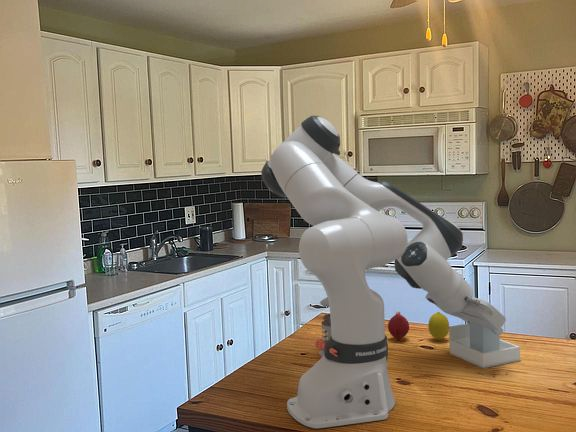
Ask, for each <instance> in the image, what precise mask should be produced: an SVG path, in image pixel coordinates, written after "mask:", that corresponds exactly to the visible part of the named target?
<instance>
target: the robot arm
mask: <svg viewBox="0 0 576 432" xmlns="http://www.w3.org/2000/svg"><path fill="white" fill-rule="evenodd" d="M340 146H341V137H340V134H339V133H338V131H337V128H336V127H335V126H334V125H333V124H332V122H331V121H329V120H327V119H326V118H324V117H321V116H320V115H319V116H318V115H310V116H308V117H307V118H305V120H303V121H302V122H301V123H300V125H299V126H298V127H297V128H296V129H294V131H293V132H292V133H291V134H289V136H287V137H286V139H284V141H282V142H281V143H280V145H278V146H277V148H275V150H274V151H273V152H272V154H271V156H270V158H269V160H267V161H266V162H265V163H264V164H263V167H262V169H261V171H260V172H261V173H260V174H261V180H262V182H263V183H264V185H265V187H267V188H268V190H269V191H270V192H272V193H274V194H275V195H277V196H279V197H281V198H287V199H288V201H289V202H290V203H291V204H292V206H293V207H294V208H295V210H296V212H297V213H298V214H299V215H300V217H301V219H303V221H305V222H306V223H308V224H309V225H311V227H308V228H307V229H306V230H304V232H303V233H302V234H301V237H300V240H299V244H298V254H299V258H300V261H301V262H302V264H303V266H304V268H305V269H306V270H307V271H308V272H309V273H310V274H312V275H314V277H315V278H317V280H318V281H319V282H320V284H321V285H322V287H323V289H324V291H325V293H326V296H327V297H328V301H329V306H330V307H329V314H330V318H331V336H330V338H329V340H328V342H325V341H323V340H324V339H323V338H317V339H315V341H314V346H315V348H316V349H318V350H319V351H321V350H324V356H323V357H322V356H321V358H320V359H319V360H318V361H317V362H316V363H314V365H312V366H311V367H310V368H309V369H308V370H307V371H306V372H305V373H304V374H302V375H301V376H300V379H299V382H298V386H297V394H296V396H295V397H291V398H289V399H288V400H287V402H286V409H287V412H288V413H289V415H290V416H291V417H292V418H293V419H295V421H296V422H298V423H300V424H301V425H303V426H305V427H308V428H311V429H324V428H325V429H326V428H333V427H339V426H346V425H354V424H355V425H356V424H363V423H368V422H376V421H383V420H387V419H388V418H389V412H390V411H391V410H392V409H393V408H394V406H395V405H396V400H395V397H394V393H393V390H392V387H391V382H390V377H389V372H388V371H389V370H388V363H387V361H388V356H389V348H388V346H389V344H388V335H386V327H385V325H386V324H385V323H386V322H385V321H386V320H385V317H386V316H385V302H384V298H382V296H381V295H380V294H379V293H378V292H377V291H376V290H373V289H372V288H370V286H369V285H368V282H367V278H366V274H365V272H366V270H369V269H374V268H375V269H376V268H380V267H383V266H386V265H388V264H390V263H393V262H394V271H395V273H397V274H398V275H399V276H400V277H402V278H403V279H404V280H405V281H406V282H407V285H409V286H410V287H411V288H413V289H422V290H423V291H425V292H427V293H426V295H425V296H424V297H425V300H427V301H428V302H430V303H432V304H434V305H435V306H436V307H437V308H438V309H440V310H441V311H442V312H443V313H445V314H447V315H450V316H452V317H456V318H458V319H460V320H462V321H463V322H465V324H468V325H469V321H470V322H473V323H476V324H479V325H481V326H484V327H487V328H490V329H492V332H493V333H494V334H496V335H499V336H501V335H502V334H503V332H504V329H503V328H502V327H503V326H504V325H505V323H506V321H507V319H506V317H505V315H503V314H502V313H501V312H500V311H499V310H498V309H497V308H496V307H495V306H494V305H493V304H491V303H490V302H489V301H487V300H485V299H482V298H477V297H475V296H473V293H474V289H473V287H472V285H470V284H469V283H468V281H467V280H466V279H465V278H464V277H463V276H462V275H461V274H460V273H459V272H457V271H456V270H454V269H453V268H452V266H451V263H449V261H448V260H449V259H450V258H451V257H453V256H454V255H456V254H457V253H458V252H459V251H460V250H461V249H462V248H463V241H464V238H463V237H464V235H463V233H464V232H462V231H461V229H460V227H459V226H458V225H456V224H455V223H454V222H452V221H451V220H450V219H447V218H445V217H443V216H441V215H439V214H438V213H436V212H434V211H433V210H431V209H430V208H429V207H427V206H425V205H424V204H423V203H421V202H420V201H418V200H417V199H415V198H414V197H412V196H411V195H409V193H406V192H404V191H403V190H402V189H400V188H398V187H397V186H395V185H393V184H391V183H390V182H387V181H386V180H385V181H384V180H378V181H372V180H369V179H367V178H365V177H364V176H362V175H361V174H360V173H359V172H357V170H355V168H353V167H352V166H351V165H350V164H348V163H347V162H346V161H345V160H343V159H342V158H340V157H339V156H340V155H341V151H340ZM388 207H391V208H392V207H393V208H397V209H399V210H401V211H402V212H404V213H405V214H407V215H409V216H410V217H412V218H413V219H415V220H416V221H418V222H419V223H420V224H422V229H421V230H419V232H418V233H417V234H416V235H415V236H414V237H413V238H412V239H411V240H410V241H409V243H408V240H409V239H408V233H407V230H406V228H405V226H404V224H403V223H402V222H401V221H400V220H399V219H398V218H396V217H394V216H392V215H388V214H386V213H383V212H382V211H381V212H380V210H381V209H385V208H388ZM327 297H326V298H327Z"/></svg>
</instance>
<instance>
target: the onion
mask: <svg viewBox="0 0 576 432" xmlns="http://www.w3.org/2000/svg"><path fill="white" fill-rule="evenodd" d="M387 331H388V332H389V334H390V335H391V336H392V337H393V338H394V339H396V340H397V341H400V340H402V339H404V337H406V336H407V334H408V332H409V331H410V323H409V321H408V319H407V318H406V317H405V316H404V315H402V314H401V311H399V310H398V311H396V313H395V314H394V315H393V316H392V317H390V319H389V321H388V323H387Z"/></svg>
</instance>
